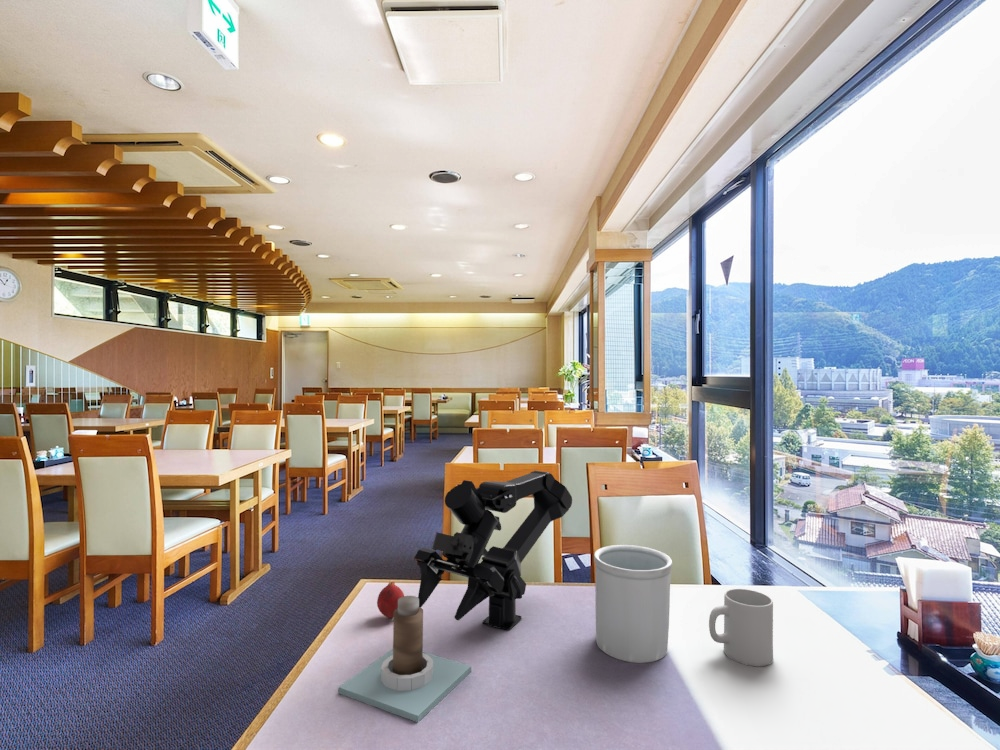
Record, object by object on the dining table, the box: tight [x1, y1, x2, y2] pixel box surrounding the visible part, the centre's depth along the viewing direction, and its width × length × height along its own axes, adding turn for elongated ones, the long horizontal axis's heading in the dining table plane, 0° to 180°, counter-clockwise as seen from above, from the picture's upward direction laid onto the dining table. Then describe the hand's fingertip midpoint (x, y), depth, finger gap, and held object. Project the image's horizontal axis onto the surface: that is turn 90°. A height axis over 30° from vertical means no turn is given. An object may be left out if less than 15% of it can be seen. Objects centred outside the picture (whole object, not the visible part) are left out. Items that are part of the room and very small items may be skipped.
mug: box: [708, 588, 774, 667], centre depth 102 cm, size 12×8×11 cm
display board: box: [337, 648, 472, 723], centre depth 92 cm, size 16×16×3 cm
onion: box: [376, 579, 405, 619], centre depth 116 cm, size 6×6×8 cm
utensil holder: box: [593, 544, 673, 664], centre depth 105 cm, size 15×15×18 cm
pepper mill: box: [392, 595, 424, 675], centre depth 92 cm, size 5×5×13 cm
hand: (436, 612), depth 98 cm, fingers open, 9 cm apart
